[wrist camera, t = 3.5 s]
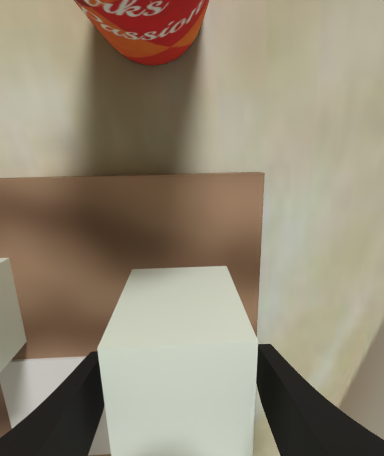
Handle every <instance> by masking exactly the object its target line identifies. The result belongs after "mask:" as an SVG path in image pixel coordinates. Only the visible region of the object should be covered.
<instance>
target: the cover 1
mask: <svg viewBox="0 0 384 456" xmlns="http://www.w3.org/2000/svg"><path fill="white" fill-rule="evenodd" d="M26 342H27V340H26V336H25V331H24V326H23V321H22V317H21V312H20V307H19V303H18V298H17V293H16V288H15V284H14V279H13V274H12V269H11V265H10V260H9V258H0V373H1V371H2V370H3V369H4V368H5V367H6V365H7V364H8V363H9V362H10V361H11V360H12V358H13V357H14V356H15V355H16V354H17V352H18V351H19V350H20V349H21V348H22V346H23V345H24V344H25V343H26Z"/></svg>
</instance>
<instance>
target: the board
mask: <svg viewBox="0 0 384 456" xmlns="http://www.w3.org/2000/svg"><path fill="white" fill-rule="evenodd" d="M263 193H264V173H262V172H241V173H198V174H156V175H114V176H72V177H29V178H0V258H9V260H10V265H11V269H12V274H13V279H14V284H15V288H16V293H17V298H18V303H19V307H20V312H21V317H22V321H23V326H24V331H25V336H26V340H27V342H26V343H25V344H24V345H23V346H22V348H21V349H20V350H19V351H18V352H17V354H16V355H15V356H14V357H13V358H12V360H18V359H40V358H62V357H84V356H87V355H88V354H89V353H90V352H92V351H97V348H98V346H99V344H100V341H101V339H102V337H103V334H104V332H105V330H106V328H107V325H108V323H109V321H110V319H111V316H112V314H113V312H114V310H115V307H116V305H117V303H118V301H119V298H120V296H121V294H122V291H123V289H124V287H125V285H126V282H127V280H128V278H129V276H130V273H131V271H132V269H152V268H181V267H209V266H227V268H228V271H229V273H230V275H231V278H232V280H233V283H234V285H235V287H236V290H237V292H238V295H239V297H240V299H241V302H242V304H243V306H244V309H245V311H246V314H247V316H248V318H249V321H250V323H251V326H252V328H253V330H254V333H255V335H256V337H257V318H258V297H259V276H260V256H261V235H262V214H263ZM11 429H12V427H11V423H10V419H9V415H8V411H7V407H6V403H5V399H4V395H3V391H2V388H1V384H0V438H1V437H2V436H3V435H5V434H6V433H7V432H9V431H10V430H11ZM88 456H111V454H102V455H88Z"/></svg>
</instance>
